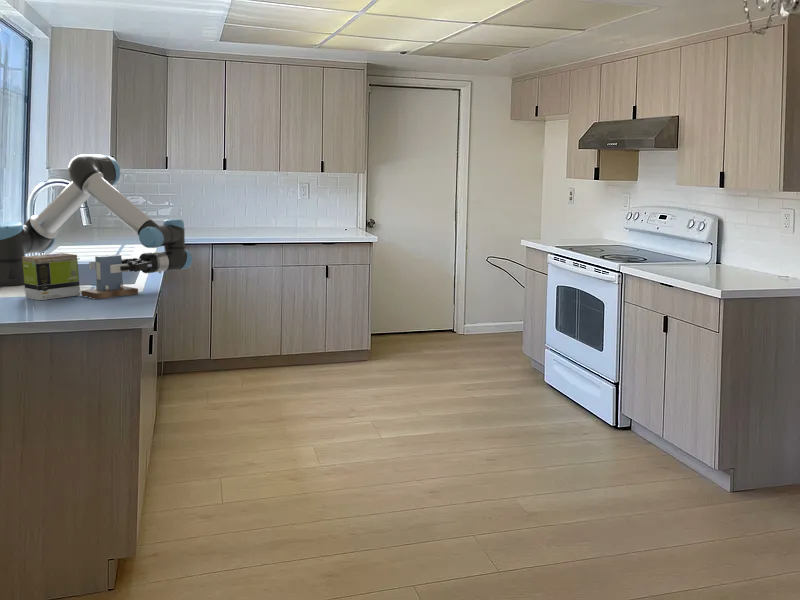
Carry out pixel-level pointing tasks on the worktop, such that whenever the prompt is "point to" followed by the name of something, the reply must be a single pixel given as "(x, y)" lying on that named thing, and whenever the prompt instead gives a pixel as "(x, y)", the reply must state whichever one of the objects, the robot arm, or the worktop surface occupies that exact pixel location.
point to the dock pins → (108, 287)
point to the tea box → (51, 276)
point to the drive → (108, 272)
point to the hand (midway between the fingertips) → (100, 267)
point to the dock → (109, 292)
